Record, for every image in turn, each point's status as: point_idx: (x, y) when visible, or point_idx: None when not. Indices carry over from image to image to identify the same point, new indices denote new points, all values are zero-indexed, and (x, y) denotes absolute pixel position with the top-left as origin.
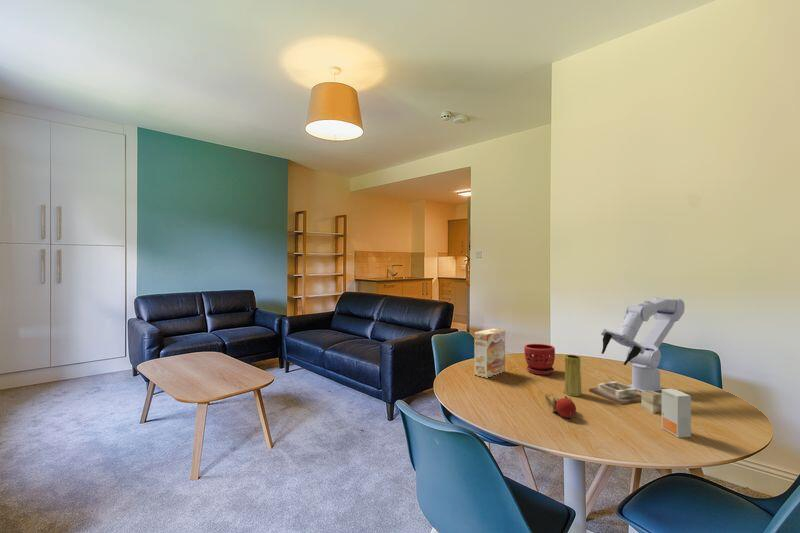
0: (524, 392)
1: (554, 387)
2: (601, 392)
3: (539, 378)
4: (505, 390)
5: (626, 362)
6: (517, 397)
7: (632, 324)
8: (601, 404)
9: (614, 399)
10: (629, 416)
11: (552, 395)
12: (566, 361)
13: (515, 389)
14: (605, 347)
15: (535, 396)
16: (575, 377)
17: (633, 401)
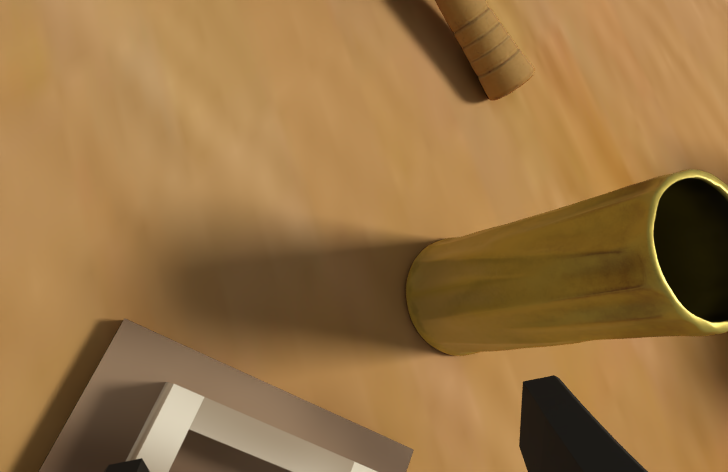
0: (618, 120)
1: None
2: (315, 429)
3: (698, 441)
4: (677, 90)
5: (111, 468)
6: (599, 26)
7: None
8: (245, 213)
9: (189, 348)
10: (12, 90)
11: (486, 6)
12: (681, 203)
13: (662, 137)
14: (582, 440)
15: (559, 95)
16: (510, 229)
17: (45, 459)
